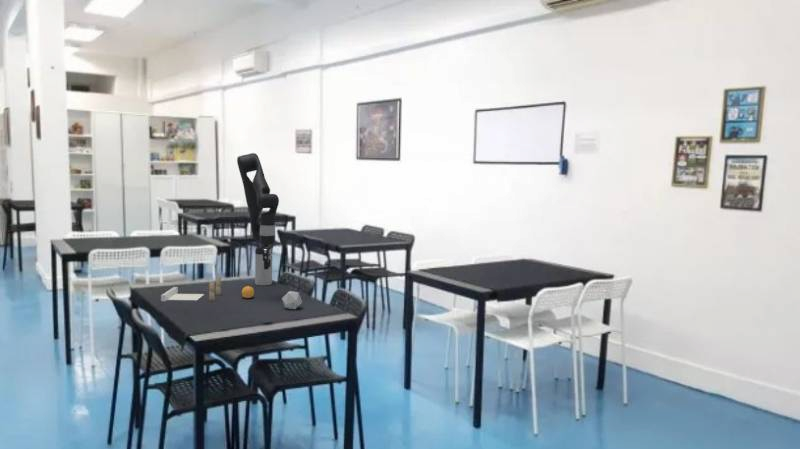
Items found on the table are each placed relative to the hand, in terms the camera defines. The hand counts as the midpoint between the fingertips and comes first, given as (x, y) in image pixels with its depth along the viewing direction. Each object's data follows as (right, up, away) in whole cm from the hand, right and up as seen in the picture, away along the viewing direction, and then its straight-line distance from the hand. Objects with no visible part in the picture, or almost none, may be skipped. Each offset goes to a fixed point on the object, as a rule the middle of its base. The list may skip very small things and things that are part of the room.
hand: (267, 268), depth 298 cm
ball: (-10, -12, +1) cm, 16 cm away
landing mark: (-40, -14, -1) cm, 42 cm away
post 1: (-26, -15, -6) cm, 30 cm away
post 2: (-26, -14, +7) cm, 31 cm away
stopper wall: (-48, -14, -1) cm, 50 cm away
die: (+15, -18, -17) cm, 29 cm away
